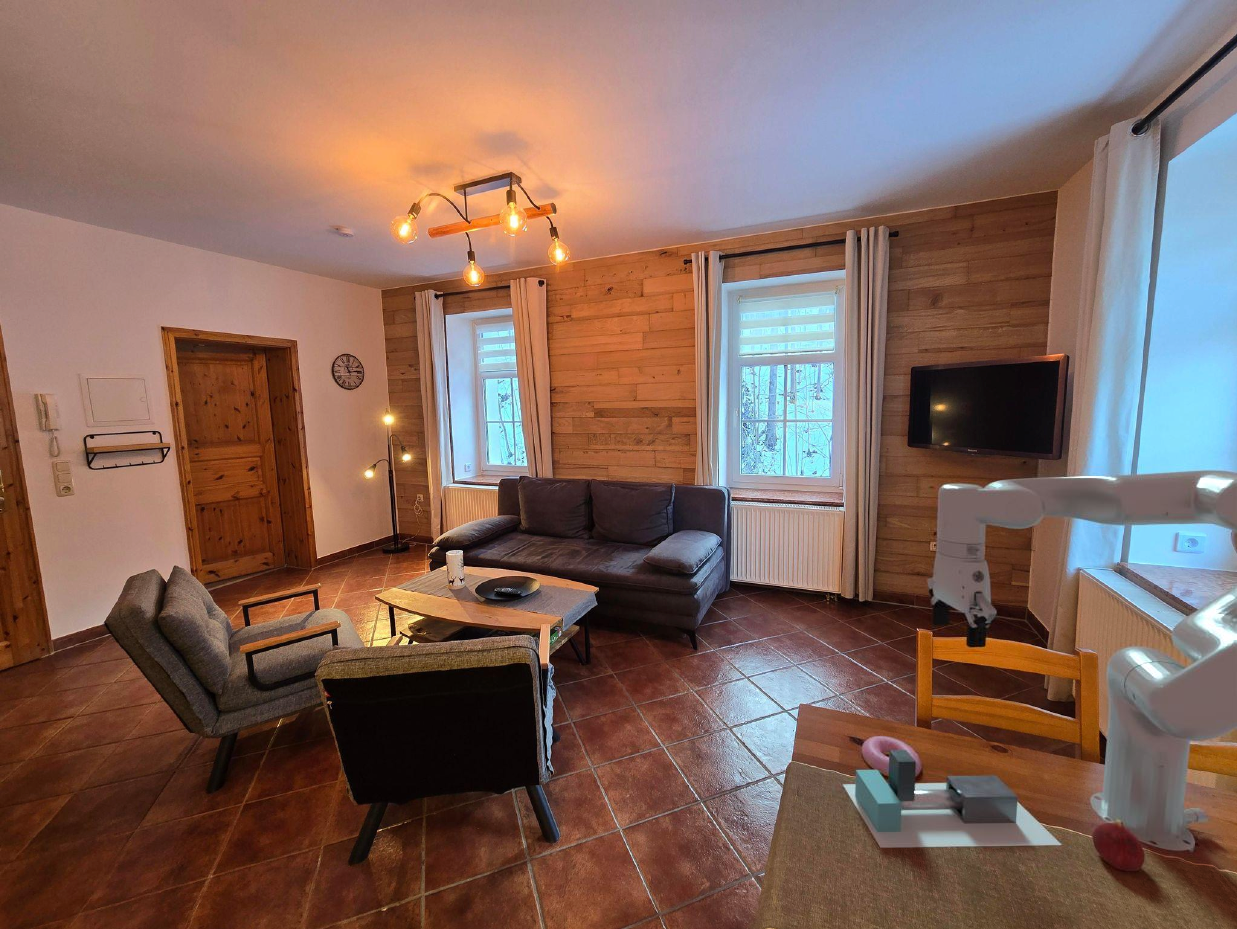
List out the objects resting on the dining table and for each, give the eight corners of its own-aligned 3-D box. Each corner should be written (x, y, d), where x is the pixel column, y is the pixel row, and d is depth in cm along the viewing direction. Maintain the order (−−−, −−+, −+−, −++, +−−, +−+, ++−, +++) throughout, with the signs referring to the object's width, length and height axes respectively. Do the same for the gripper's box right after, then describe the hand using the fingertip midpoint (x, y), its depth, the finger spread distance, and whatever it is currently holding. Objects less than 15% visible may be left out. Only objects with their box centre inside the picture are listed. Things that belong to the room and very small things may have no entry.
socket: (876, 795, 92) (877, 769, 92) (900, 831, 84) (901, 803, 84) (855, 796, 92) (855, 770, 92) (877, 832, 84) (878, 803, 84)
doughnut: (866, 780, 98) (867, 760, 98) (857, 745, 108) (857, 727, 108) (928, 791, 95) (929, 771, 94) (912, 753, 105) (913, 735, 105)
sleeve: (994, 800, 90) (995, 775, 90) (1016, 822, 85) (1017, 796, 85) (945, 801, 91) (946, 776, 90) (964, 823, 86) (965, 797, 85)
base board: (997, 787, 95) (997, 782, 95) (1061, 851, 81) (1062, 845, 81) (842, 790, 95) (842, 784, 95) (880, 853, 81) (880, 847, 81)
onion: (1153, 888, 75) (1158, 840, 74) (1109, 881, 76) (1113, 834, 75) (1122, 854, 80) (1126, 809, 80) (1081, 849, 81) (1085, 804, 81)
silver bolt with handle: (975, 800, 89) (978, 748, 88) (987, 813, 86) (990, 760, 85) (871, 801, 90) (872, 750, 89) (879, 814, 87) (881, 762, 86)
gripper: (1016, 561, 85) (1012, 655, 86) (948, 537, 102) (946, 616, 103) (973, 562, 85) (970, 657, 86) (913, 538, 102) (911, 617, 103)
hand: (957, 634), depth 95 cm, fingers open, 9 cm apart
